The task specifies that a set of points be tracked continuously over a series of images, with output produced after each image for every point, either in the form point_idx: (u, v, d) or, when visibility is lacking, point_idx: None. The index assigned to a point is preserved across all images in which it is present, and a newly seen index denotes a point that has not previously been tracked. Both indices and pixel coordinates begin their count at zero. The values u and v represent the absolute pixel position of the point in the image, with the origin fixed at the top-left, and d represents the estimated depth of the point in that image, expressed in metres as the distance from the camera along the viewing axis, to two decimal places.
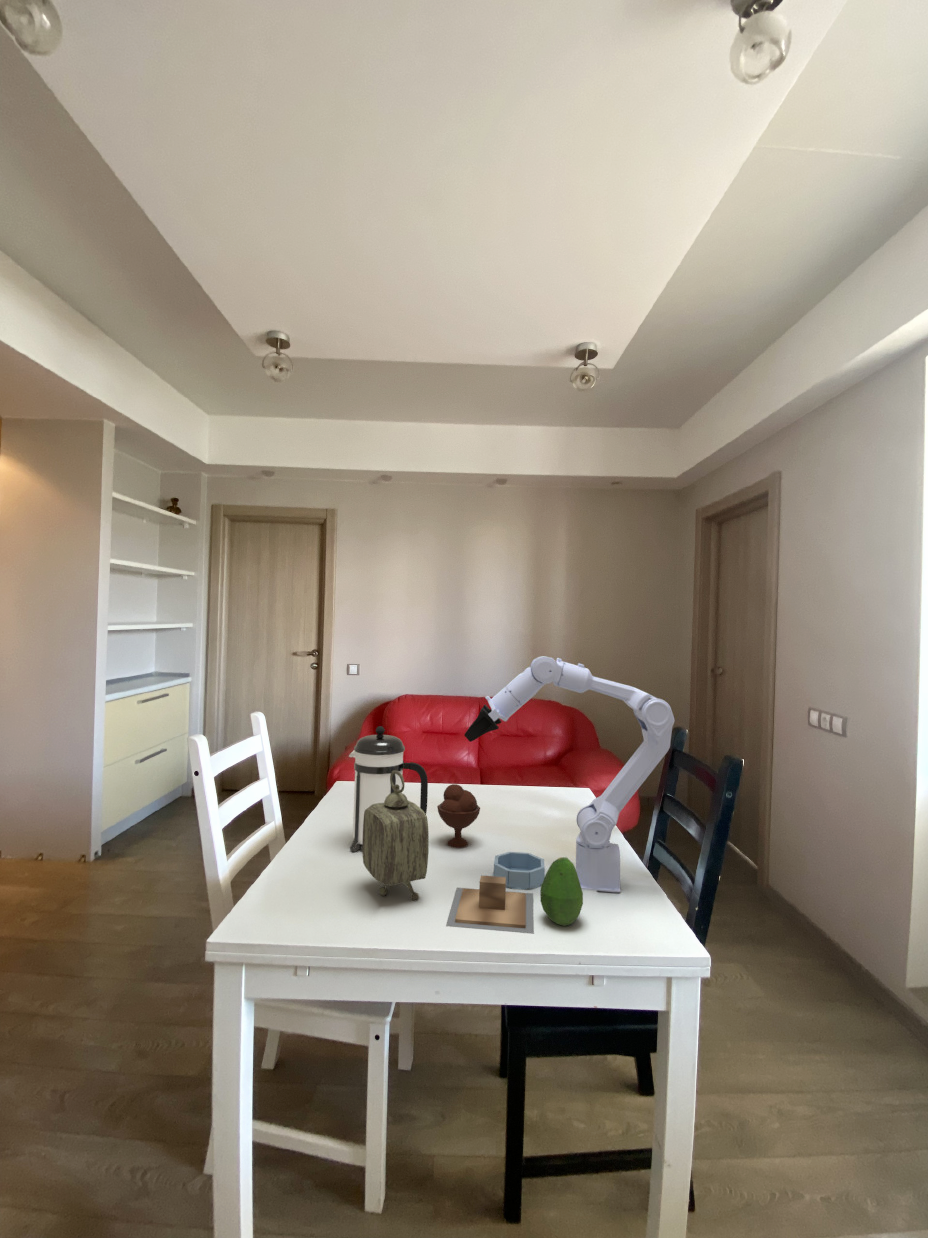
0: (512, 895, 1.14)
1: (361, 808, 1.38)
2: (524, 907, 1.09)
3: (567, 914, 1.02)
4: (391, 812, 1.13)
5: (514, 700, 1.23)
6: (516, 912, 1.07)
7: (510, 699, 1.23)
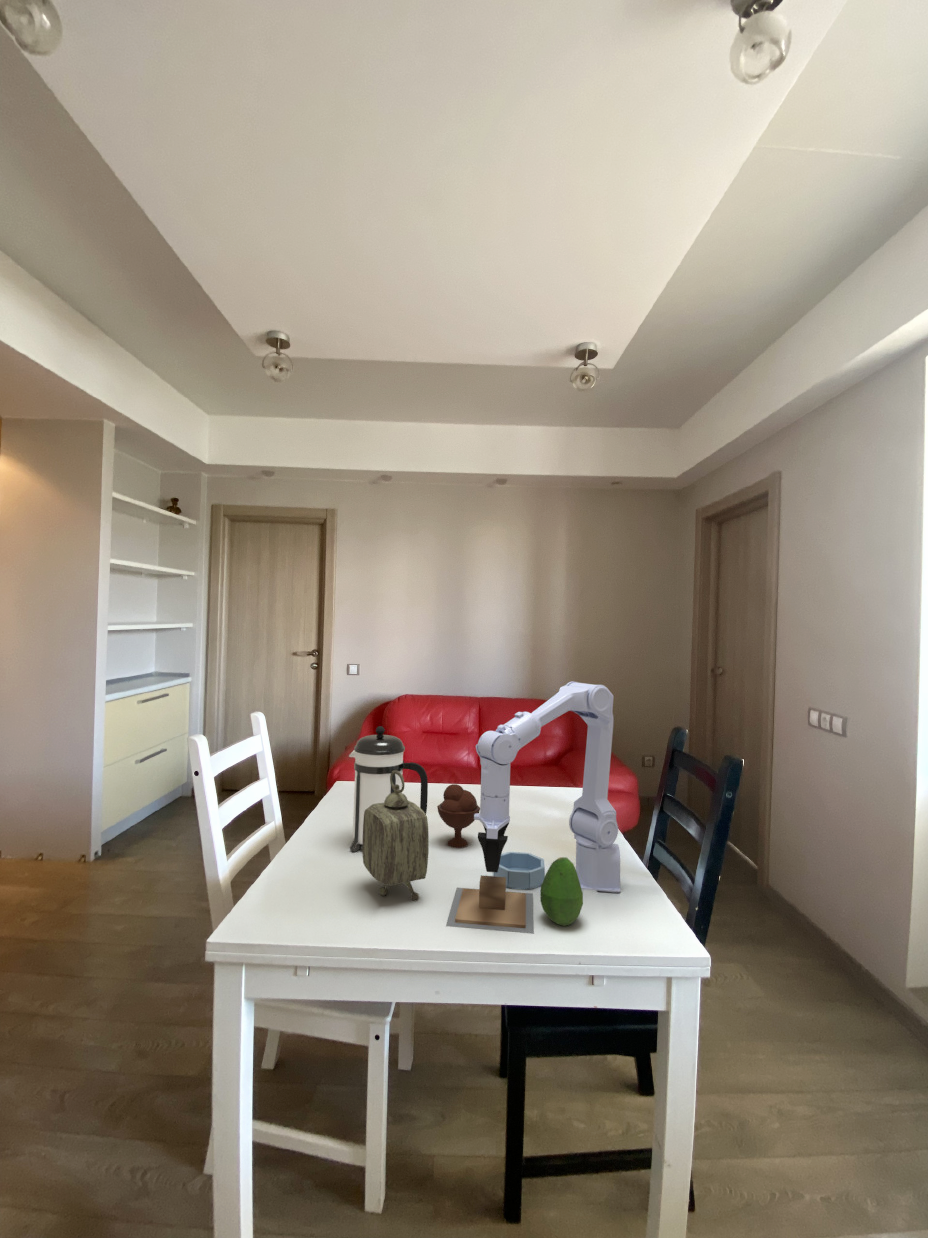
0: (512, 895, 1.14)
1: (361, 808, 1.38)
2: (524, 907, 1.09)
3: (567, 914, 1.02)
4: (391, 812, 1.13)
5: (497, 799, 1.08)
6: (516, 912, 1.07)
7: (493, 802, 1.08)
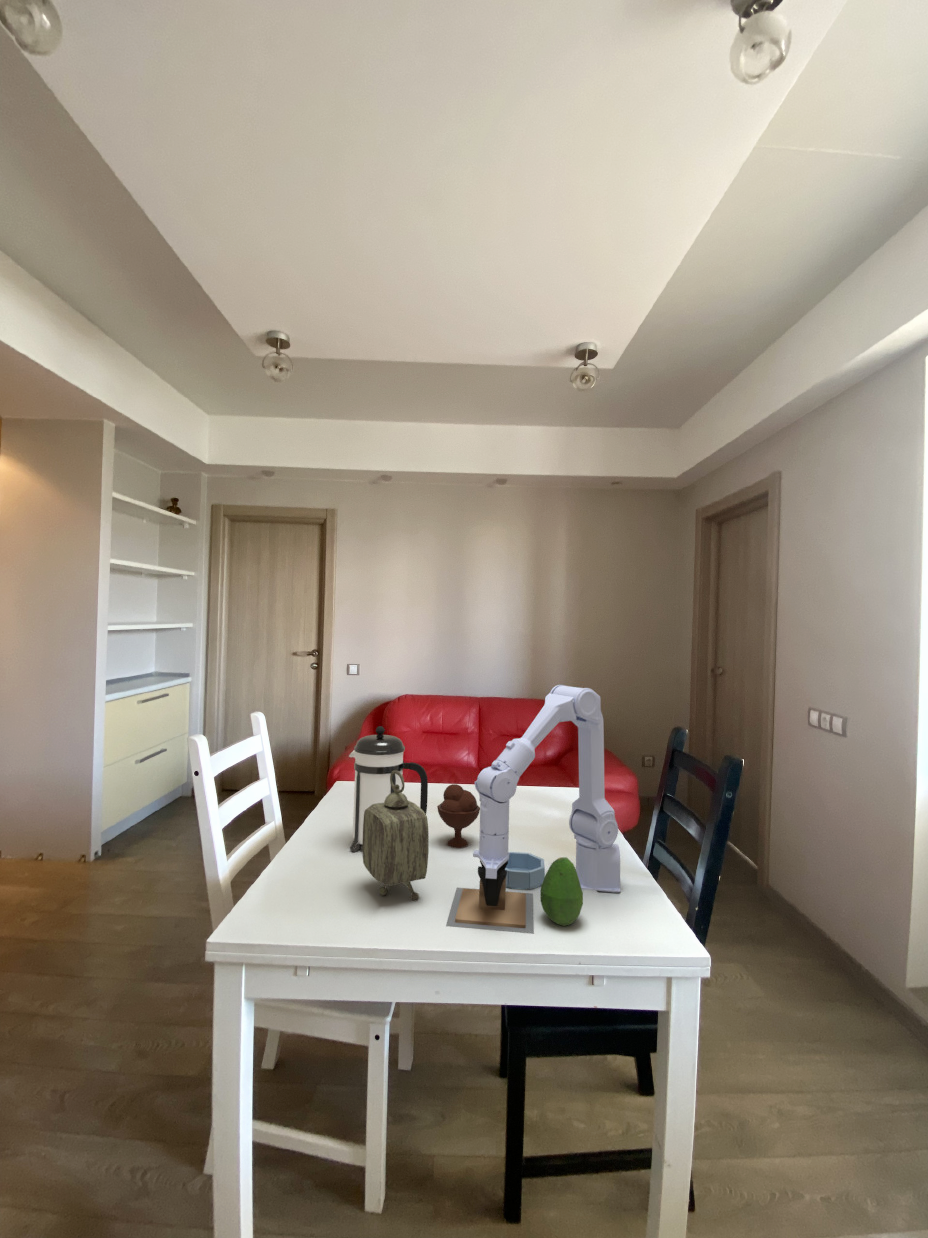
0: (512, 895, 1.14)
1: (361, 808, 1.38)
2: (524, 907, 1.09)
3: (567, 914, 1.02)
4: (391, 812, 1.13)
5: (496, 837, 1.07)
6: (516, 912, 1.07)
7: (492, 840, 1.07)
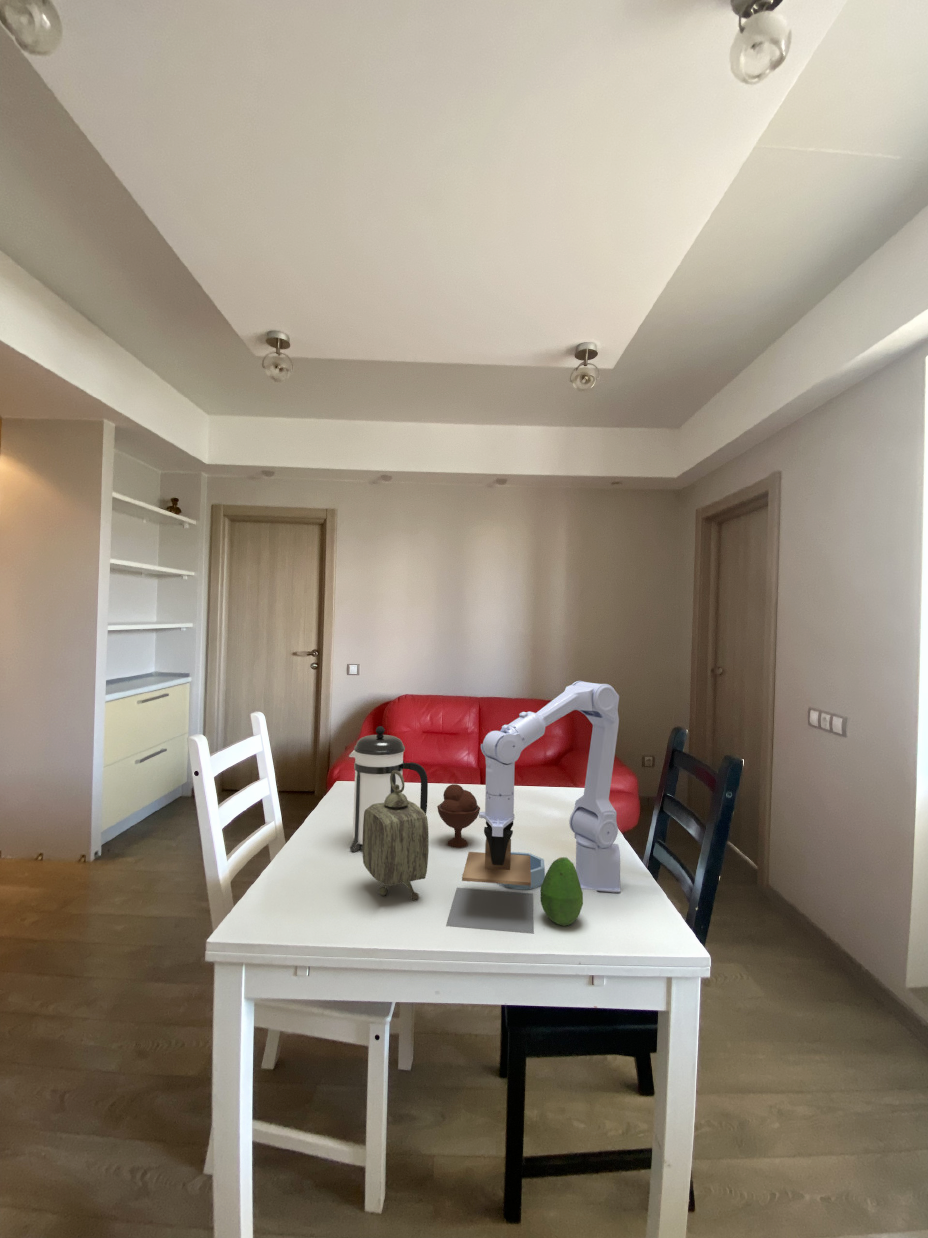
0: (517, 858, 1.17)
1: (361, 808, 1.38)
2: (529, 867, 1.12)
3: (567, 914, 1.02)
4: (391, 812, 1.13)
5: (502, 798, 1.10)
6: (521, 871, 1.10)
7: (498, 800, 1.10)
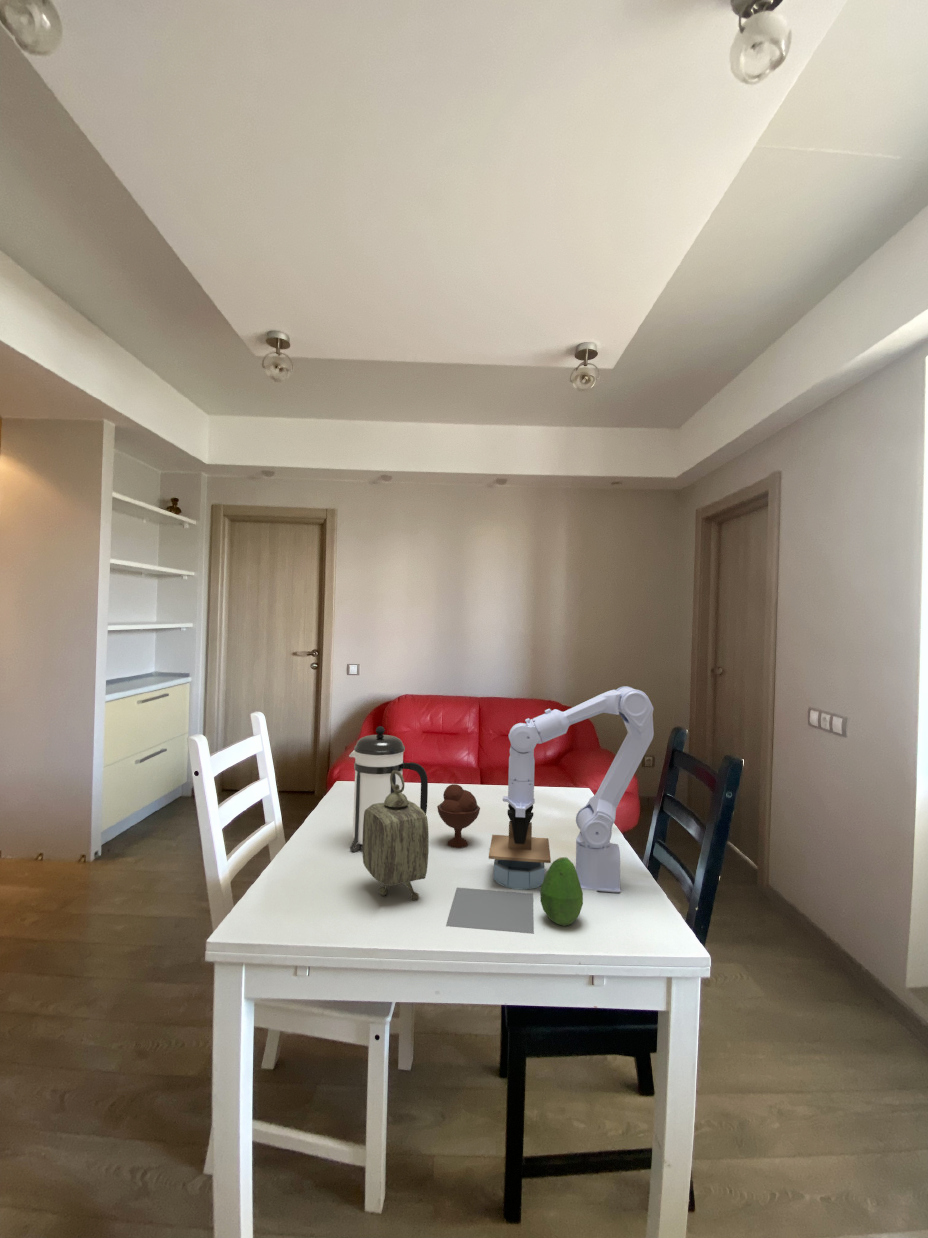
0: (536, 840, 1.29)
1: (361, 808, 1.38)
2: (548, 848, 1.24)
3: (567, 914, 1.02)
4: (391, 812, 1.13)
5: (524, 783, 1.22)
6: (541, 851, 1.22)
7: (520, 785, 1.22)
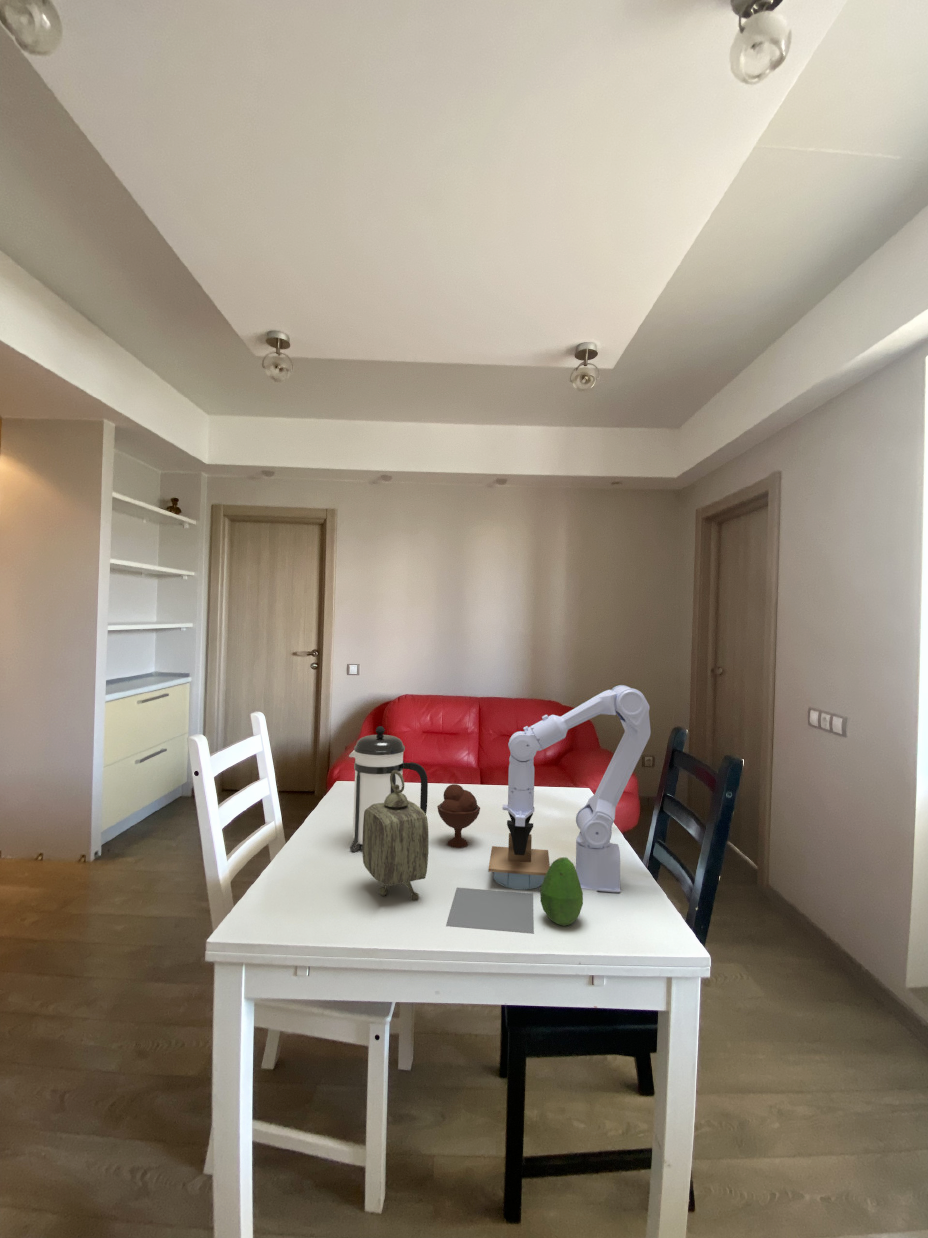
0: (536, 851, 1.29)
1: (361, 808, 1.38)
2: (548, 860, 1.24)
3: (567, 914, 1.02)
4: (391, 812, 1.13)
5: (524, 792, 1.22)
6: (541, 864, 1.22)
7: (520, 794, 1.22)
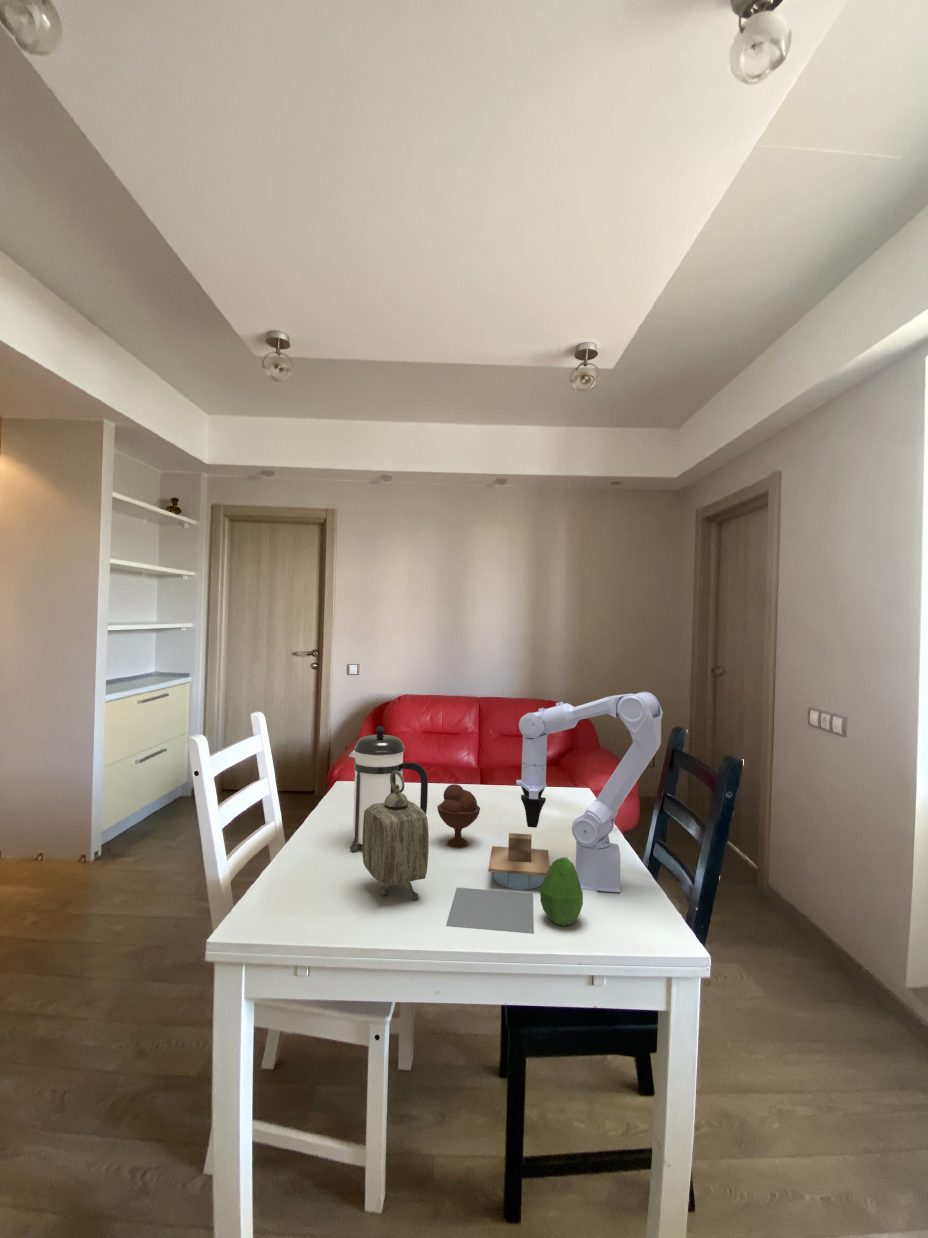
0: (536, 851, 1.29)
1: (361, 808, 1.38)
2: (548, 860, 1.24)
3: (567, 914, 1.02)
4: (391, 812, 1.13)
5: (537, 767, 1.30)
6: (541, 864, 1.22)
7: (533, 770, 1.30)
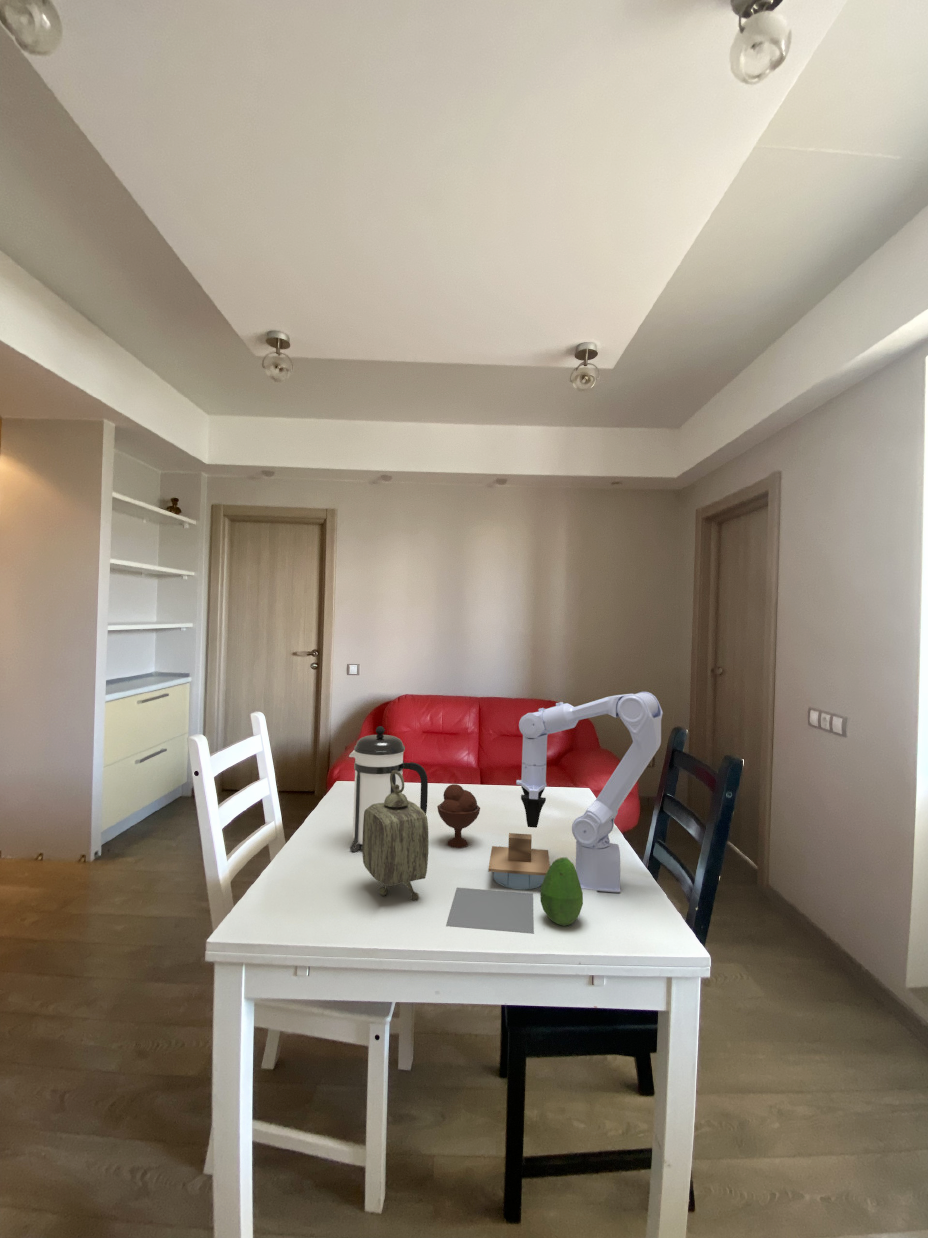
0: (536, 851, 1.29)
1: (361, 808, 1.38)
2: (548, 860, 1.24)
3: (567, 914, 1.02)
4: (391, 812, 1.13)
5: (537, 767, 1.30)
6: (541, 864, 1.22)
7: (533, 770, 1.30)
